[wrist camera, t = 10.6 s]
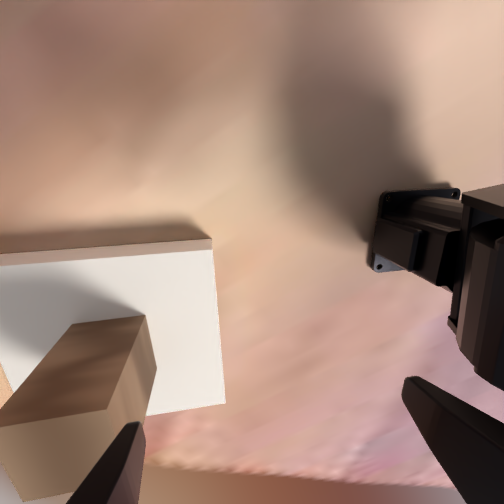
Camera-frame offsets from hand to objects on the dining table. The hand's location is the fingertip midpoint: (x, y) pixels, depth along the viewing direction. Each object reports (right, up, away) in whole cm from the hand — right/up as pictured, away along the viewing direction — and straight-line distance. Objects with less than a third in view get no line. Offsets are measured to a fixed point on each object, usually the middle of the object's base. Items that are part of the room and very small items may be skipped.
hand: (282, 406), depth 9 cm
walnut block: (-10, -1, +9) cm, 14 cm away
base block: (-11, -1, +11) cm, 16 cm away
